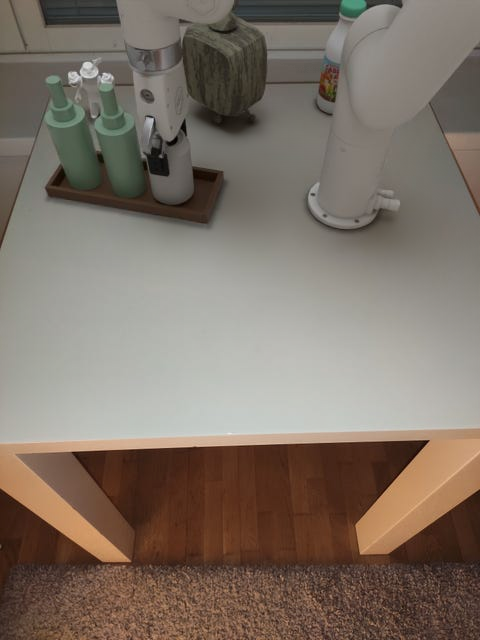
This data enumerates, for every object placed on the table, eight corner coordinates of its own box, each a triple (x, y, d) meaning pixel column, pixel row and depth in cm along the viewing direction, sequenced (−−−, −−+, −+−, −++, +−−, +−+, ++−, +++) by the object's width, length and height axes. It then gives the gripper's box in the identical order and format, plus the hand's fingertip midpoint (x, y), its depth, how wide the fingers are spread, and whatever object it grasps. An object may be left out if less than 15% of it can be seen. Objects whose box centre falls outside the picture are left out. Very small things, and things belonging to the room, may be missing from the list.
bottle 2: (151, 177, 88) (133, 78, 72) (140, 201, 85) (118, 102, 69) (119, 172, 89) (93, 72, 73) (106, 195, 85) (76, 96, 69)
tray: (223, 182, 88) (223, 170, 86) (207, 226, 82) (206, 215, 80) (75, 157, 92) (71, 146, 90) (49, 198, 86) (44, 187, 83)
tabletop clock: (264, 121, 98) (272, -15, 77) (235, 142, 95) (236, 4, 74) (212, 94, 103) (207, -41, 82) (183, 113, 100) (170, -23, 79)
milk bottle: (315, 94, 104) (331, -9, 87) (350, 95, 104) (373, -8, 87) (317, 115, 100) (334, 11, 83) (354, 116, 100) (378, 13, 83)
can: (188, 211, 83) (182, 153, 73) (147, 204, 84) (135, 147, 74) (199, 182, 87) (194, 124, 77) (159, 177, 88) (150, 118, 78)
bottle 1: (108, 170, 89) (81, 70, 73) (95, 193, 85) (63, 94, 70) (76, 165, 90) (42, 65, 74) (62, 187, 86) (23, 88, 70)
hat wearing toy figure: (123, 112, 100) (111, 54, 90) (120, 124, 98) (106, 66, 88) (81, 110, 100) (64, 53, 90) (76, 122, 98) (58, 64, 88)
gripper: (160, 89, 59) (175, 194, 74) (198, 22, 68) (204, 127, 83) (104, 81, 60) (129, 186, 74) (148, 16, 69) (163, 121, 84)
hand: (169, 155), depth 79 cm, fingers open, 9 cm apart
